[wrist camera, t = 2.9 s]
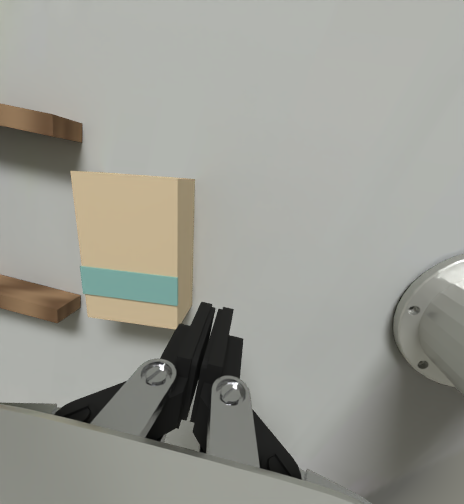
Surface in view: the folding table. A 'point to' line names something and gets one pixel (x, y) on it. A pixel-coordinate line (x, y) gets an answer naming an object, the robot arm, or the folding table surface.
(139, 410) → the robot arm
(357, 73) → the folding table surface
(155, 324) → the carton
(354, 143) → the folding table surface
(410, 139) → the folding table surface
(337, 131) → the folding table surface
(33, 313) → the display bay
